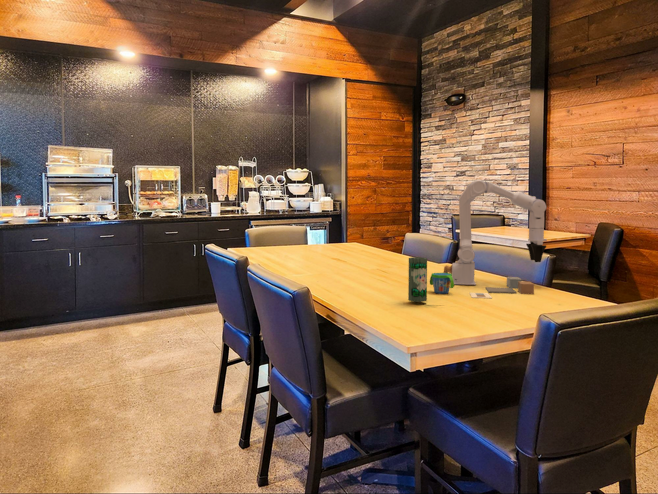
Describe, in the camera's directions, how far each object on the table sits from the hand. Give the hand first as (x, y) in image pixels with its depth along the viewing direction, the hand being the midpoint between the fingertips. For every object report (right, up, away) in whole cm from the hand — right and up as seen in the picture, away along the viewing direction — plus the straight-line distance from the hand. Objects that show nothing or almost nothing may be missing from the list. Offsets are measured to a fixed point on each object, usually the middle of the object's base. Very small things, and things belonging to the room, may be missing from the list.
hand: (535, 261), depth 205 cm
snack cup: (-43, -12, -15) cm, 47 cm away
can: (-54, -13, -30) cm, 63 cm away
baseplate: (-18, -11, -11) cm, 24 cm away
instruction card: (-29, -12, -21) cm, 38 cm away
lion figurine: (-29, -9, +28) cm, 41 cm away
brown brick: (-10, -12, -15) cm, 21 cm away
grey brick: (-10, -11, -1) cm, 15 cm away
